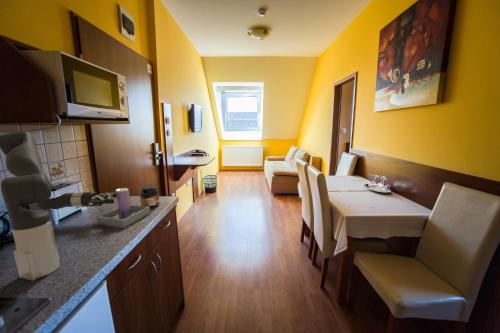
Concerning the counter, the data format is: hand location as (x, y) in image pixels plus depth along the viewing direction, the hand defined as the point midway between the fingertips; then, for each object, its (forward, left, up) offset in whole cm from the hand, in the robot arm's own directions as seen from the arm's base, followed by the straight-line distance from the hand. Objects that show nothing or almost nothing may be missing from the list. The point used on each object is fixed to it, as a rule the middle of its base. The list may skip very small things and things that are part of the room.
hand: (118, 198), depth 112 cm
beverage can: (+1, -2, -11) cm, 11 cm away
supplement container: (+20, -2, -12) cm, 23 cm away
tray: (+1, -2, -11) cm, 12 cm away
